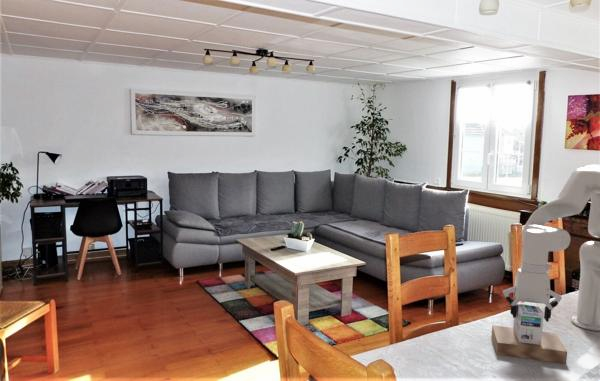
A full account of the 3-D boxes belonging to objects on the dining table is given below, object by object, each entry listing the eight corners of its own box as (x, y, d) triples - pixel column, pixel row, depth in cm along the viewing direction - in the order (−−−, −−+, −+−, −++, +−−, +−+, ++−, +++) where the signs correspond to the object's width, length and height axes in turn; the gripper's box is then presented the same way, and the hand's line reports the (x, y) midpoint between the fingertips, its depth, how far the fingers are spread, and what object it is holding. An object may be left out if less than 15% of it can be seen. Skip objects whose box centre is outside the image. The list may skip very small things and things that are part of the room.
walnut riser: (555, 344, 157) (556, 333, 157) (566, 363, 144) (567, 351, 143) (491, 336, 163) (492, 325, 162) (496, 354, 149) (497, 342, 149)
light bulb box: (541, 345, 147) (544, 313, 146) (518, 343, 149) (521, 310, 147) (533, 331, 157) (536, 301, 156) (512, 329, 159) (514, 299, 158)
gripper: (560, 266, 151) (556, 316, 153) (503, 261, 156) (499, 310, 158) (566, 273, 144) (562, 326, 146) (506, 268, 149) (502, 319, 151)
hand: (529, 318), depth 152 cm, fingers open, 9 cm apart
